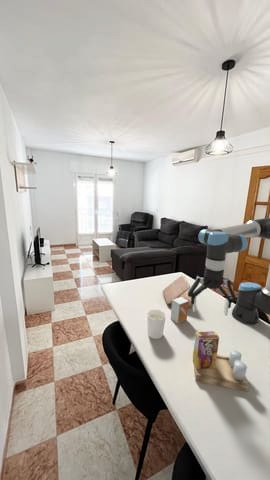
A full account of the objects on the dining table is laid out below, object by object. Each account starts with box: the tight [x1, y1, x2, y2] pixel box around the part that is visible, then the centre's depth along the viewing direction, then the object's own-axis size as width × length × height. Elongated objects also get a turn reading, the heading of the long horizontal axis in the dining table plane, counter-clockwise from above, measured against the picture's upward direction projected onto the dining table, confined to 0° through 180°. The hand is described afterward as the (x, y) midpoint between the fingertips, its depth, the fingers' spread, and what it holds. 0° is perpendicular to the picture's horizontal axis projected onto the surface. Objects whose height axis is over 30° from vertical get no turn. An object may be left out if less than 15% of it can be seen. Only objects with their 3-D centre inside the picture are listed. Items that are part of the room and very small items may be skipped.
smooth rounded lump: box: [232, 360, 248, 382], centre depth 80 cm, size 4×4×6 cm
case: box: [162, 275, 193, 308], centre depth 143 cm, size 20×21×16 cm
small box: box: [170, 297, 189, 325], centre depth 120 cm, size 8×6×13 cm
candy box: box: [192, 330, 220, 369], centre depth 84 cm, size 9×4×15 cm, turn 95°
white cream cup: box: [147, 309, 167, 340], centre depth 106 cm, size 10×10×12 cm
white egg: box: [228, 349, 242, 368], centre depth 86 cm, size 4×4×6 cm
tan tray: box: [192, 350, 250, 392], centre depth 85 cm, size 20×13×3 cm, turn 79°
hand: (209, 312), depth 88 cm, fingers open, 13 cm apart
